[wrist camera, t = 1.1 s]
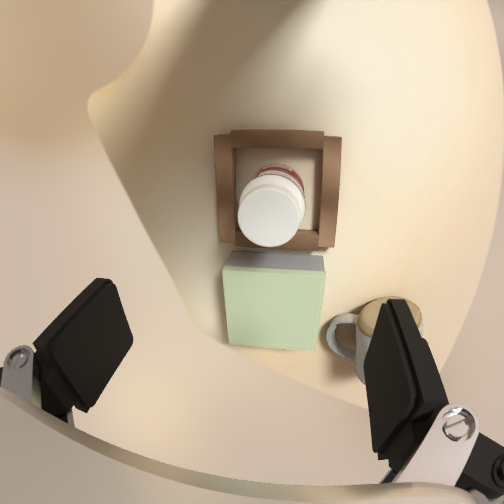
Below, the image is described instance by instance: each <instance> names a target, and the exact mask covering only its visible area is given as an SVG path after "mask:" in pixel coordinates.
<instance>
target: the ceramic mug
mask: <svg viewBox="0 0 504 504" xmlns="http://www.w3.org/2000/svg"><path fill="white" fill-rule="evenodd" d="M388 299H405V298H401V297H394V296H393V297H383V298H380V299H376V300H374V301H372V302H370V303H368V304H367V305H366V306H365V307H364V308H363V309H362V310H361V311H360V313H359V315H358V314H351V313H348V314H342V315H339V316H337V317H335V318H334V319H333V320H332V321H331V323H330V325H329V327H328V328H327V331H326V341H327V344H328V346H329V347H330V348H331V350H332V351H334V352H335V353H336V354H338V355H339V356H341V357H343V358H345V359H348V360H351V361H355V370H356V373H357V376H358V378H359V379H360V381H361V382H362V383H363V384H365V376H364V369H363V365H364V359H365V356H366V353H367V350H368V347H369V344H370V341H371V338H372V335H373V331H374V328H375V325H376V321H377V318H378V314H379V310H380V307H381V304H382V303H386V302H387V300H388ZM405 300H406V302H407V304H408V306H409V308H410V311H411V313H412V315H413V318H414V320H415V322H416V325H417V327H418V329H419V332H420V334H421V337H422V332H423V321H422V315H421V312H420V310H419V308H418V307H417V305H416V304H414V303H413V302H411V301H410V300H407V299H405ZM340 323H349V324H355V325H356V351H355V350H352V349H349V348H346V347H344V346H343V345H341V344H340V343H339V342H338V341H337V340H336V338H335V329H336V327H337V326H336V325H337V324H340ZM365 385H366V384H365Z"/></svg>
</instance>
